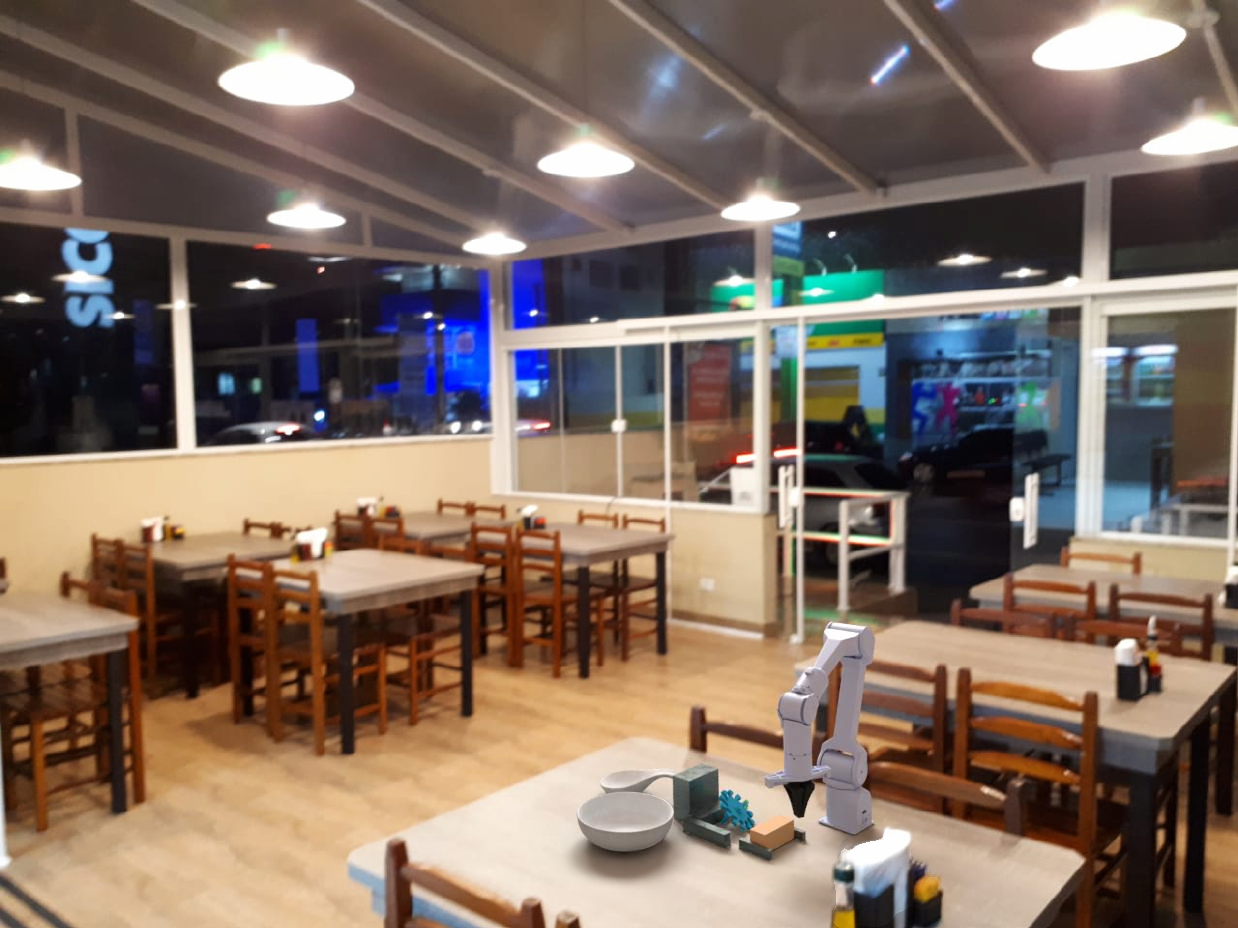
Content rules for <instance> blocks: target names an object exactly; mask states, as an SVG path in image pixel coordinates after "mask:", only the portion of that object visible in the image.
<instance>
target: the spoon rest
mask: <svg viewBox="0 0 1238 928" xmlns="http://www.w3.org/2000/svg"><path fill="white" fill-rule="evenodd" d="M680 772H681V771H677V770H676V769H672V768H668V767H667V768H666V767H665V768H664V767H663V768H655V769H625V770H618V771H614V772H611V773H609V774H607V775H605V776H603V778H601V779H600V780H599V781H600V782H599V786H600V787H601V789H602V790H603V791H604V793H605V794H609V793H616V792H638V793H644V791H645V790H646V789H647V788H648V787H649V786H651V784H652V783H654V782H655V781H657V780H659V779H662V778H669V779H671V780H673V775H675V774H678V773H680Z"/></svg>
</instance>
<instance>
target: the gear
mask: <svg viewBox="0 0 1238 928" xmlns="http://www.w3.org/2000/svg"><path fill="white" fill-rule="evenodd" d="M734 794H735V793H734V791H732V789H728V790H725V789H723V790H721V791H720V794H719V797H718V799H719V800H720V801H721V803H720V808H721V809H724V810H726V811H727V812H725V813H724V815H725V817H724V818H723V819H722V820H721V821H720V823H719V824H721V825H722V826H724V825H725V824H726V823H727V822H728V821H730V820H731V819H733V820H732V821H731V822H730V823H731V824H732V826H733V827H734V828H736V827H737V826H739V824H740V826H739V830H740V831H742V832H745V831H748V832H750V829H752V828H753V825H754V824H755V823H756V821H755V820H754V818H753V816H754V813H753V812H752V810H748V809H749V804H750V801H749V800H748V799H745V800H743V801H742V802H741V800H742V797H741V796H740V794H738V793H737V794H735V796H734V797H733V795H734ZM752 818H753V819H752Z"/></svg>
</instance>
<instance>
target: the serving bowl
mask: <svg viewBox="0 0 1238 928" xmlns="http://www.w3.org/2000/svg"><path fill="white" fill-rule="evenodd" d="M576 817H577V823H578V826H579V829H580V830H581V833H582V834H583V835H584V837H585V838H586V839H587V840H588V841H589V842H590V843H592V844H593V845H595V846H597V847H599V848H602V849H604V850H609V851H613V852H635V851H641V850H646V849H648V848H651V847H653V846H655V845H657V844H658V843H660V842H661V841H662V840H663V839H665V838H666V836H667V835H668V834H669V832H670V830H671V828H672V826H673V823H674V807H673V805H672V804H671V803H669V802H668V801H667V800H665V799H664V798H662V797H659V796H657V795H653V794H649V793H644V792H641V793H638V792H616V793H609V794H608V793H605V794H600V795H598V796H595V797H591V798H589V799H588V800H586V801H584V802H583V803H582V804H581V805H579V807H578V809H577V812H576Z"/></svg>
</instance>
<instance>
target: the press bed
mask: <svg viewBox="0 0 1238 928" xmlns="http://www.w3.org/2000/svg"><path fill="white" fill-rule="evenodd" d="M679 772H680V773H678V774H675V775H673V779H672V799H673V801H672V802H673V805H672V807H673V810H674V817H673V820H676V821H679V822H680V823H682V832H683V833H685V832H686V833H685V834H687V833H688V834H687V835H690V836H693V837H695V838H698V839H699V840H702V841H704V842H707V843H709V844H712V845H714V846H717V847H719V848H722V849H724V850H725V849H728V848H729V847H731V846H732V845H731V844H732V839H731V838H732V834H731V831H729V830H727V829H725V828H722V827H719V826H717V825H718V824H721V823H720V821H721V820H722V819H723V818H724V817H725V815H724V813H725V812H727V811H726V810H724V809H721V808H720V803H721V801H720V800H719V799H718V797H719V796H720V783H719V768H717V767H715V766H711V765H709V764H706V763H703V762H702V763H701V762H700V763H699V764H696V765H694V766H691V767H690V768H687V769H685V770H682V771H679ZM806 835H807V834H806V830H804V829H801V828H798V827H795V826H794V838H793V839H795V840H798V841H799V842H805V841H806V840H807V839H806V837H807V836H806ZM738 849H739V850H741V851H744V852H747V853H749V854H752V855H754V856H757V857H759V858H761V859H763V860H767V861H770V862H771V861H772V860H773V850H772V849H769V848H767V847H764V846H762V845H759V844H757V843H754V842H752V841H750V839H749V840H748V839H747V838H744V837H740V838H739V839H738Z"/></svg>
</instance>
